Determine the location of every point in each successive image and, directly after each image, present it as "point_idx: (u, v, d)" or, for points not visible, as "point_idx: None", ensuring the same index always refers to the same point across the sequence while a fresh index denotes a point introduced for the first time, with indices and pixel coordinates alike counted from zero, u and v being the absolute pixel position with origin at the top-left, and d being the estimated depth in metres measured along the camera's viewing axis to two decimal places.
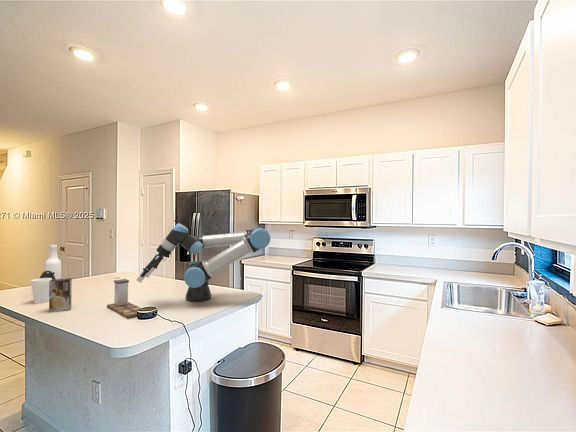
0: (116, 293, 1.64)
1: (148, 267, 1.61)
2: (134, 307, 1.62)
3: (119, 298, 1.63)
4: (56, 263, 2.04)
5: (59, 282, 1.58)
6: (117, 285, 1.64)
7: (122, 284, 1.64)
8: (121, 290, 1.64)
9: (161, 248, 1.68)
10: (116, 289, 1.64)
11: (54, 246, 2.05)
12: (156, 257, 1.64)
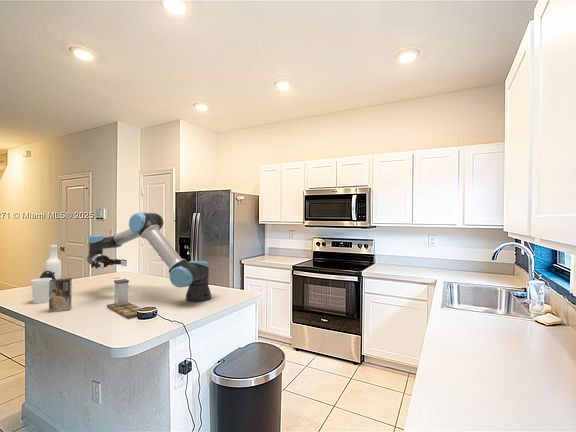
0: (116, 293, 1.64)
1: None
2: (134, 307, 1.62)
3: (119, 298, 1.63)
4: (56, 263, 2.04)
5: (59, 282, 1.58)
6: (117, 285, 1.64)
7: (122, 284, 1.64)
8: (121, 290, 1.64)
9: None
10: (116, 289, 1.64)
11: (54, 246, 2.05)
12: None
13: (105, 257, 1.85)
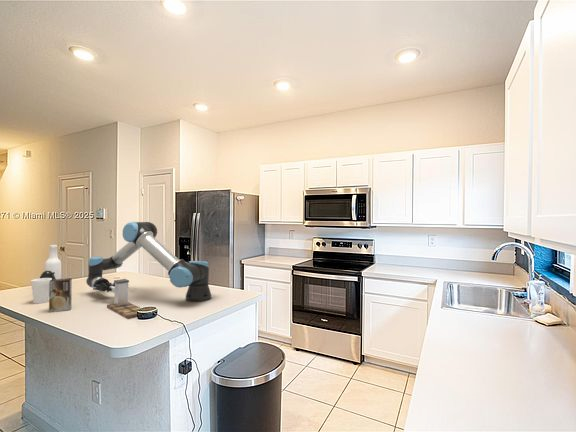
0: (116, 293, 1.64)
1: (101, 288, 1.75)
2: (134, 307, 1.62)
3: (119, 298, 1.63)
4: (56, 263, 2.04)
5: (59, 282, 1.58)
6: (117, 285, 1.64)
7: (122, 284, 1.64)
8: (121, 290, 1.64)
9: None
10: (116, 289, 1.64)
11: (54, 246, 2.05)
12: (94, 288, 1.77)
13: (105, 280, 1.85)
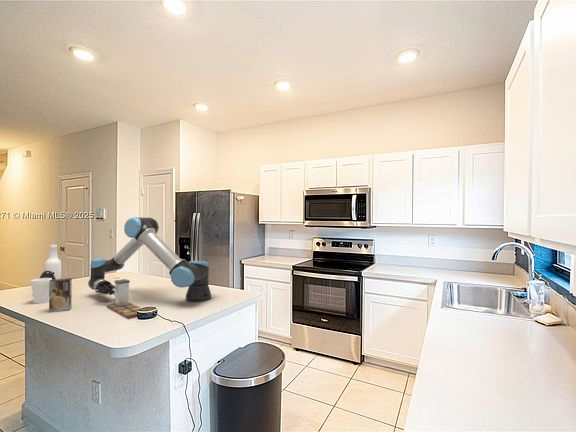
0: (117, 293, 1.64)
1: (103, 291, 1.70)
2: (134, 307, 1.62)
3: (120, 298, 1.63)
4: (56, 263, 2.04)
5: (59, 282, 1.59)
6: (118, 285, 1.63)
7: (123, 284, 1.64)
8: (121, 290, 1.63)
9: None
10: (117, 289, 1.64)
11: (54, 246, 2.05)
12: (96, 290, 1.72)
13: (107, 283, 1.81)
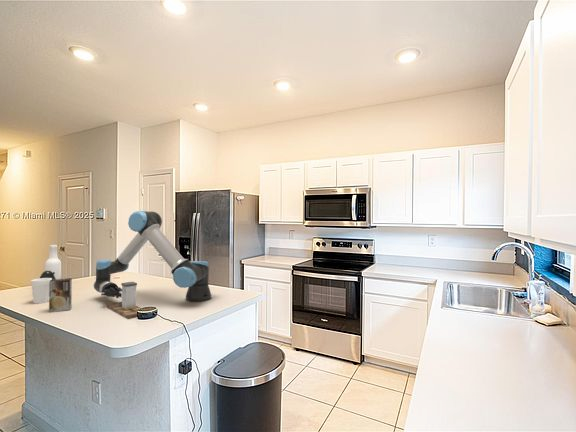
0: (124, 296, 1.58)
1: (110, 294, 1.64)
2: None
3: (127, 302, 1.57)
4: (56, 263, 2.04)
5: (59, 282, 1.58)
6: (125, 288, 1.57)
7: (130, 287, 1.58)
8: (128, 293, 1.57)
9: None
10: (124, 292, 1.58)
11: (54, 246, 2.05)
12: (102, 293, 1.66)
13: (113, 285, 1.75)
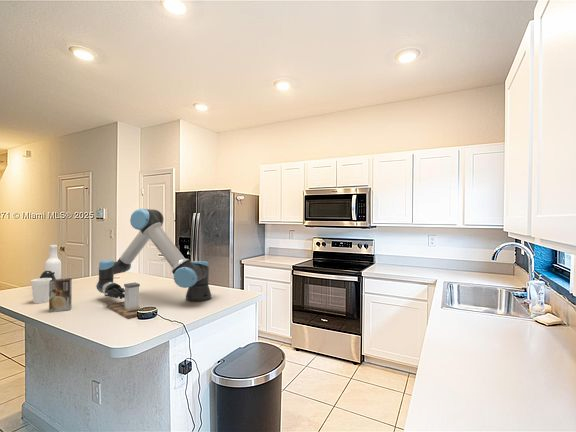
0: (126, 298, 1.55)
1: (113, 295, 1.62)
2: None
3: (130, 303, 1.54)
4: (56, 263, 2.04)
5: (59, 282, 1.58)
6: (127, 289, 1.55)
7: (133, 288, 1.55)
8: (131, 295, 1.55)
9: None
10: (126, 293, 1.55)
11: (54, 246, 2.05)
12: (105, 294, 1.65)
13: (116, 286, 1.73)
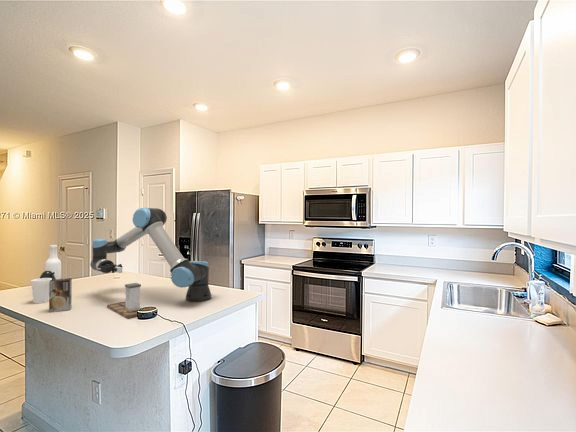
0: (127, 298, 1.54)
1: (106, 269, 1.70)
2: None
3: (131, 303, 1.53)
4: (56, 263, 2.04)
5: (59, 282, 1.59)
6: (128, 290, 1.54)
7: (134, 288, 1.55)
8: (132, 295, 1.54)
9: None
10: (127, 294, 1.55)
11: (54, 246, 2.05)
12: (98, 269, 1.72)
13: (109, 262, 1.80)
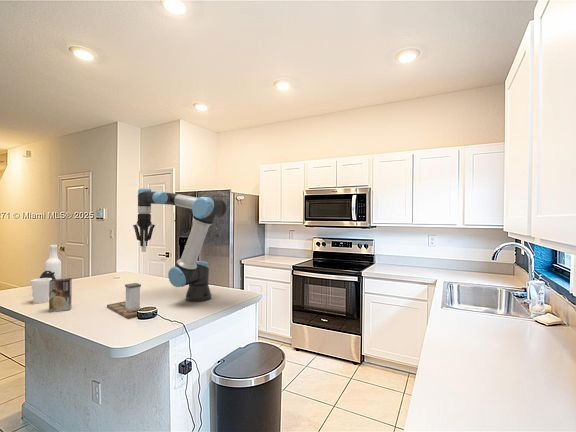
0: (127, 298, 1.54)
1: (137, 236, 1.85)
2: None
3: (131, 303, 1.53)
4: (56, 263, 2.04)
5: (59, 282, 1.59)
6: (128, 290, 1.54)
7: (134, 288, 1.55)
8: (132, 295, 1.54)
9: None
10: (127, 294, 1.55)
11: (54, 246, 2.05)
12: (133, 226, 1.84)
13: (147, 219, 1.87)
